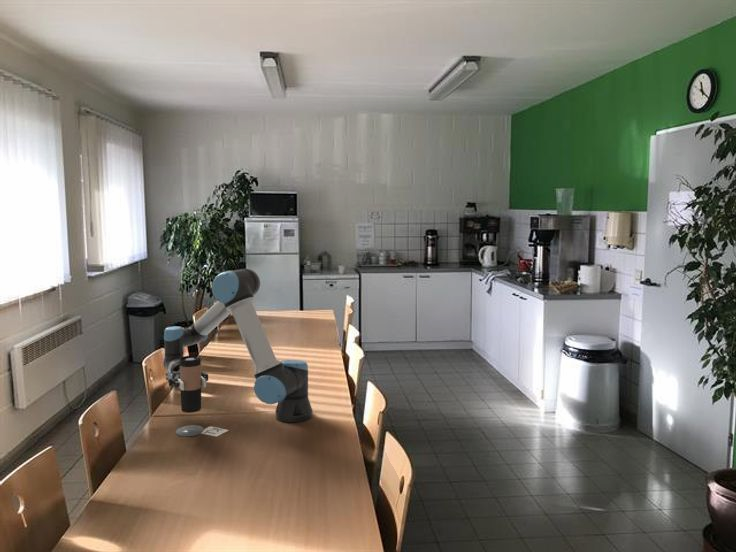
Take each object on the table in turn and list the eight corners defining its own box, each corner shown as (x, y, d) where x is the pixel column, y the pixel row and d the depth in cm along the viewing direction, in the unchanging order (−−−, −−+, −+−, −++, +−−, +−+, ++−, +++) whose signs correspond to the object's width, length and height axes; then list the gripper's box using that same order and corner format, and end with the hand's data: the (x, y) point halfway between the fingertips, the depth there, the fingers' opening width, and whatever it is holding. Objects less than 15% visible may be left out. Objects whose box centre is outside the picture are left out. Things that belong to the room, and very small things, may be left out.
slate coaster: (209, 429, 227) (209, 427, 226) (190, 438, 218) (190, 436, 218) (189, 425, 231) (189, 423, 231) (170, 433, 222) (170, 432, 222)
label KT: (228, 430, 225) (228, 430, 225) (216, 436, 219) (216, 436, 219) (210, 426, 229) (210, 426, 229) (197, 432, 223) (197, 432, 223)
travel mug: (180, 413, 219) (178, 361, 217) (181, 407, 226) (180, 356, 224) (201, 412, 221) (200, 360, 219) (201, 405, 228) (200, 355, 226)
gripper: (205, 375, 243) (221, 391, 224) (153, 382, 233) (165, 399, 213) (204, 358, 242) (220, 371, 223) (153, 364, 232) (165, 379, 213)
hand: (193, 385), depth 218 cm, fingers closed on travel mug, 7 cm apart
